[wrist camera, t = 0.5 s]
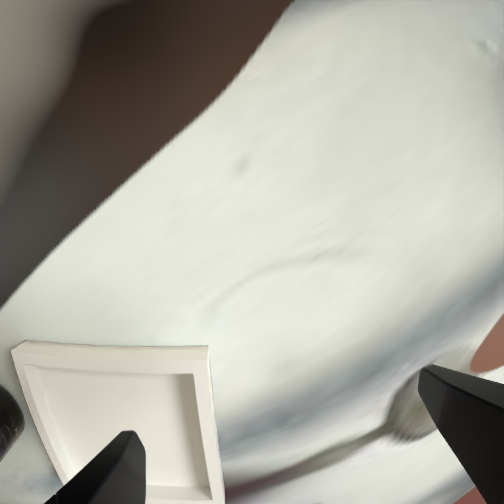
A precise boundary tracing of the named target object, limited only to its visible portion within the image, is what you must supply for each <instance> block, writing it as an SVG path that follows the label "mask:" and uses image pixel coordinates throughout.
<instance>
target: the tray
mask: <svg viewBox="0 0 504 504" xmlns="http://www.w3.org/2000/svg"><path fill="white" fill-rule="evenodd" d="M11 354H12V357H13V361H14V365H15V368H16V371H17V375H18V378H19V381H20V384H21V387H22V390H23V393H24V396H25V399H26V402H27V405H28V407H29V410H30V413H31V415H32V418H33V420H34V423H35V425H36V428H37V430H38V433H39V435H40V437H41V440H42V442H43V444H44V446H45V449H46V451H47V453H48V455H49V457H50V459H51V461H52V463H53V465H54V467H55V469H56V471H57V473H58V475H59V477H60V479H61V481H62V483H63V485H65V484H66V483H67V482H68V481H70V480H71V479H72V478H73V477H74V476H75V475H76V474H77V473H78V472H79V471H80V470H81V469H82V468H83V467H85V466H86V465H87V464H88V463H89V462H90V461H91V460H92V459H93V458H94V457H95V456H96V455H97V454H98V453H99V452H100V451H101V450H102V449H103V448H105V447H106V446H107V445H108V444H109V443H110V442H111V441H112V440H113V439H114V438H115V437H116V436H117V435H118V434H119V433H120V432H121V431H124V430H134V431H135V432H136V433H137V435H138V436H139V438H140V440H141V442H142V444H143V446H144V448H145V451H146V500H145V504H225V492H224V482H223V475H222V468H221V460H220V452H219V444H218V436H217V427H216V419H215V409H214V400H213V390H212V380H211V370H210V358H209V347H208V345H205V346H106V345H82V344H65V343H51V342H38V341H27V340H25V341H24V342H23V343H21V344H20V345H18V346H17V347H16V348H14V349H13V350H11Z"/></svg>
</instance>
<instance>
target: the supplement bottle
mask: <svg viewBox="0 0 504 504" xmlns="http://www.w3.org/2000/svg"><path fill="white" fill-rule="evenodd" d="M23 430H24V417H23V414H22V411H21V409H20V407H19V405H18V404H17V402H16V401H15V399H14V398H13V397H12V396H11V394H10V393H9V392H8V391H7V390H6V389H4V388H3V387H2V386H1V385H0V462H1V461H2V459H3V458H4V456H5V455H6V454H7V452H8V451H9V450H10V448H11V447H12V446H13V444H14V443H15V442H16V440H17V439H18V438H19V436H20V435H21V433H22V432H23Z"/></svg>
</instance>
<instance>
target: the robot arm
mask: <svg viewBox="0 0 504 504" xmlns="http://www.w3.org/2000/svg"><path fill="white" fill-rule="evenodd" d="M418 392H419V395H420V397H421V398H422V400H423V402H424V404H425V406H426V408H427V410H428V412H429V414H430V415H431V417H432V419H433V421H434V423H435V425H436V427H437V428H438V430H439V431H440V433H441V434H442V436H443V437H444V439H445V440H446V442H447V443H448V445H449V446H450V448H451V449H452V451H453V452H454V454H455V455H456V457H457V458H458V460H459V461H460V463H461V464H462V466H463V467H464V469H465V470H466V472H467V473H468V475H469V476H470V478H471V479H472V481H473V483H474V484H475V486H476V487H477V489H478V490H479V492H480V494H481V495H482V497H483V498H484V500H485V501H486V503H487V504H504V384H501V383H498V382H494V381H490V380H486V379H483V378H479V377H475V376H472V375H468V374H465V373H461V372H457V371H454V370H451V369H447V368H444V367H440V366H437V365H433V364H431V365H428V366H426V367H423V368H422V369H421V371H420V376H419V384H418ZM145 500H146V451H145V448H144V446H143V444H142V442H141V440H140V438H139V436H138V435H137V433H136V432H135V431H134V430H124V431H121V432H120V433H119V434H118V435H117V436H116V437H115V438H114V439H113V440H112V441H111V442H110V443H109V444H108V445H107V446H106V447H105V448H103V449H102V450H101V451H100V452H99V453H98V454H97V455H96V456H95V457H94V458H93V459H92V460H91V461H90V462H89V463H88V464H87V465H86V466H85V467H83V468H82V469H81V470H80V471H79V472H78V473H77V474H76V475H75V476H74V477H73V478H72V479H71V480H70V481H68V482H67V483H66V484H65V485H64V486H63V487H62V488H61V489H60V490H59V491H58V492H57V493H56V495H55V494H54V495H53V496H52V497H51V498H50V499H49V500H48V501H46V502H45V503H44V504H145Z"/></svg>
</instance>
